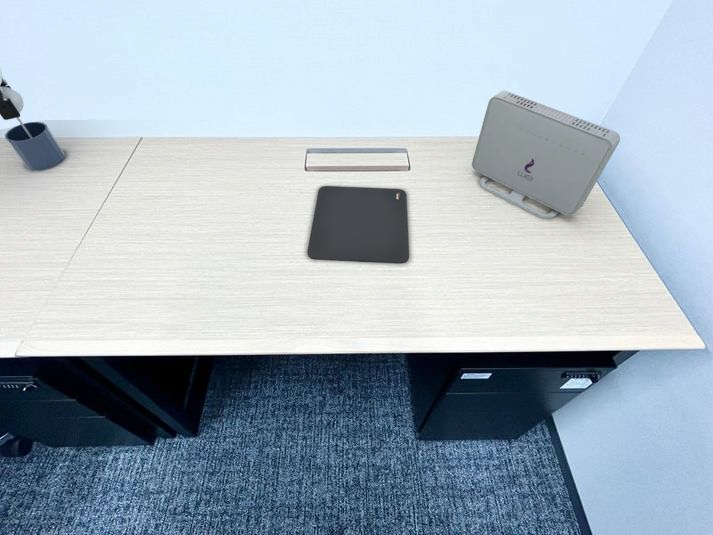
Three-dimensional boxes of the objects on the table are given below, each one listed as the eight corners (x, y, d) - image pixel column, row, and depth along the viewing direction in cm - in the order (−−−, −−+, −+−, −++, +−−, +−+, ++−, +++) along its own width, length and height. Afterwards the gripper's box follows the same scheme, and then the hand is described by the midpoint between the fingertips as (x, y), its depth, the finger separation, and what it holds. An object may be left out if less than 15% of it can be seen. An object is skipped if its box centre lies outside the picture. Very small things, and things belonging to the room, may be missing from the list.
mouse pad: (409, 263, 78) (409, 262, 78) (306, 259, 79) (306, 257, 78) (405, 190, 93) (406, 189, 93) (319, 186, 93) (319, 185, 93)
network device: (463, 178, 96) (484, 98, 81) (482, 163, 100) (506, 84, 85) (564, 230, 85) (611, 147, 70) (581, 210, 89) (629, 128, 74)
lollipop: (53, 139, 99) (14, 79, 88) (53, 152, 96) (12, 90, 84) (25, 146, 98) (-19, 85, 86) (24, 158, 94) (-22, 96, 83)
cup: (27, 174, 95) (5, 145, 89) (26, 156, 100) (5, 127, 94) (66, 164, 98) (48, 135, 92) (63, 147, 103) (45, 118, 97)
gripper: (-69, 10, 79) (-7, 98, 93) (-79, 40, 69) (-8, 133, 83) (-24, 5, 82) (30, 91, 95) (-28, 32, 72) (33, 124, 86)
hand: (12, 110), depth 89 cm, fingers closed on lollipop, 5 cm apart
